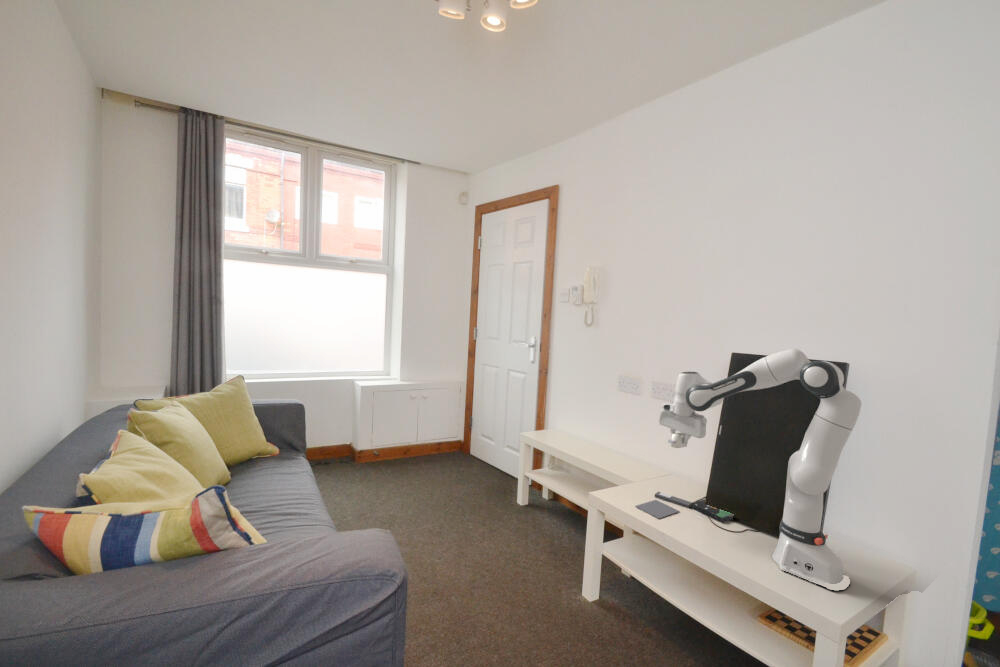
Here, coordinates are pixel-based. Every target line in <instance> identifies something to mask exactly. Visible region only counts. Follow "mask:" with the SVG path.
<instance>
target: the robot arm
mask: <svg viewBox="0 0 1000 667" xmlns="http://www.w3.org/2000/svg"><path fill="white" fill-rule="evenodd" d="M794 380H795V381H796V380H799V381H800V383H801V385H802V386H803V387H804V389H806V390H807V391H809V392H810V393H811V394H813V395H814V396H816V397H817V398H818V399H820V402H819V405H818V408H817V410H815V413H814V415H813V418H812V419H811V421H810V423H809V426H808V427H807V429H806V431H805V434H804V437H803V439H802V442H801V445H800V448H799V449H798V450H796V451H795V452H794V453H792V454H791V456H789V460H788V464H787V474H786V483H785V484H786V486H785V497H784V505H783V514H782V518H781V519H780V523H779V530H778V531H779V532H778V533H779V536H778V537H779V538H778V540H777V544H776V547H775V549H774V551H773V553H772V556H771V557H772V559H773V561H774V562H775V563H776V564H777V565H778V567H779V569H780V570H781V571H782V570H783V571H782V572H784V571H786V572H789V573H791V574H794V575H797V576H800V577H803V578H806V579H808V580H811V581H814V582H817V583H822V584H824V583H829V584H837V583H840V582H841V581H842V580H843V578H844V577H843V574H844V565H843V561H842V560H841V559H840V558H839V556H837V555H836V553H835V552H834V551H833V550H832V549H831V548H830V547H829V546H828V545H827V544H826V540H827V539H828V536H829V535H828V533H827V534H824V533H823V532H822V530H821V524H822V520H823V519H822V518H823V511H824V493H825V492H826V491H827V490H828V488H829V486H830V485H831V484H830V483H831V480H832V478H833V476H834V474H835V471H836V468H837V466H838V462H839V460H840V457H841V454H842V451H843V449H844V447H845V445H846V444H847V441H848V439H849V438H850V435H851V433H852V432H853V430H854V428H855V426H856V423H857V420H858V419H859V416H860V412H861V408H862V400H861V399H860V397H859V396H858V395H856V394H855V393H854V392H852V391H849V390H847V389H846V388H844V386H845V384H846V374H845V372H844V370H843V369H842V368H841V367H840V366H838V365H836V364H835V363H833V362H829V361H826V360H814V361H811V360H809V358H808V356H807V355H806V354H805V353H804V352H803V351H802V350H800V349H797V348H789V349H785V350H781V351H778V352H774V353H771V354H769V355H767V356H764V357H761V358H760V359H758V360H756V361H754V362H753V363H751V364H749V365H747V366H746V367H744V368H743V369H741V370H739V371H738V372H736V373H734V374H733V375H731V376H728V377H726V378H724V379H721V380H718V381H716V382H711V381H708V380H707V379H706V378H705V377H703V376H702V375H701V374H700V373H699V372H697V371H683V372H680V373H679V375H678V377H677V379H676V384H675V389H674V392H675V396H674V399H673V402H670V403H662V405H661V411H660V413H659V416H658V417H659V418H658V423H659V425H660V426H663V427H666V428H669V429H670V430H669V431H670V434H671V435H672V434H674V433H676V432H677V431H678V432H679V433H681V432H682V433H685V436H686V438H685V439H682V443H683V444H687V445H688V442H689V440H690V439H691V437H694V438H697V439H703V438H705V437H706V432H707V423H708V422H707V418H706V417H705V415H703V414H699V413H697V412H704V411H706V410H708V409H711V408H712V409H713V408H715V407H716V406H719V405H720V404H722V402H723V400H724V399H725V398H726V397H729V396H730V397H731V396H732V395H735V394H738V393H741V392H747V391H755V390H764V389H768V388H773V387H776V386H780V385H783V384H784V383H788V382H791V381H794ZM786 572H785V573H786ZM789 573H788V574H789ZM791 574H790V575H791ZM794 575H793V576H794ZM815 580H817V581H815Z"/></svg>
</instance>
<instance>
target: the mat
mask: <svg viewBox="0 0 1000 667" xmlns="http://www.w3.org/2000/svg"><path fill="white" fill-rule="evenodd" d="M634 507H635V508H636V509H639V510H641V511H643V512H644V513H646V514H647V515H650V516H652V517H654V518H656V519H658V520H660V519H664V518H666V517H669V516H672V515H675V514H678V513H680V510H677V509H676V508H674V507H672V506H669V505H668V504H666V503H663V502H662V501H659V500H657V499H653V500H649V501H647V502H643V503H640V504H637V505H635V506H634Z"/></svg>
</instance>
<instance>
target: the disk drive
mask: <svg viewBox="0 0 1000 667" xmlns="http://www.w3.org/2000/svg"><path fill="white" fill-rule="evenodd" d="M705 500H706V499H700V500H697V501H696V502H695V501H693V502H692V503H691V506H690V508H689V509H692V510H694V511H696V512H698V513H700V514H702V515H705V516H707V517H708V518H710V519H713V520H714V521H717V522H719V523H722V524H723V523H725V522H728V521H731V520H734V519H733V516H734V514H732V513H730V512H727V511H724V510H721V509H717V508H716V507H713V506H710V505H706V504H705Z"/></svg>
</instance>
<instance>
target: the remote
mask: <svg viewBox="0 0 1000 667" xmlns="http://www.w3.org/2000/svg"><path fill="white" fill-rule="evenodd" d="M654 498H656V499H659V500H662V501H665V502H668V503H670V504H674V505H676V506H680V507H683V508H686V509H691V508H690V506H691V503H692V502H691V501H688V500H685V499H682V498H679V497H677V496H674V495H670V494H667V493H663V492H661V491H657V492H655V493H654Z"/></svg>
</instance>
